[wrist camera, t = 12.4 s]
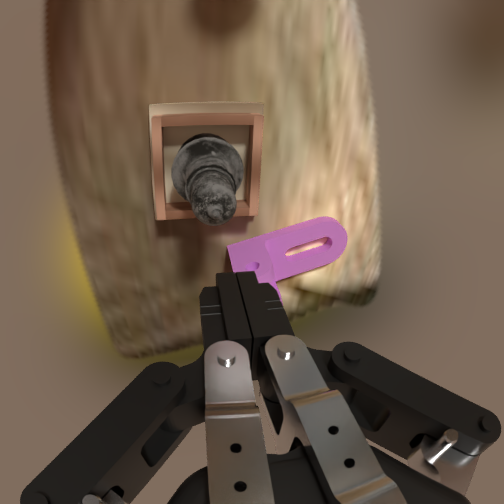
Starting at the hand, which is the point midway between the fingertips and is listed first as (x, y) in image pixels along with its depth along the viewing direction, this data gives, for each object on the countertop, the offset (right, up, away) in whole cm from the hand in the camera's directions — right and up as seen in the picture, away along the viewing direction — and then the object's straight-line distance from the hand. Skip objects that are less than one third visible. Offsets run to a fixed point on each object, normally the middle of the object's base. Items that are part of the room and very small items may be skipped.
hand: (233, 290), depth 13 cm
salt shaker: (-4, +10, +16) cm, 19 cm away
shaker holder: (-4, +10, +16) cm, 20 cm away
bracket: (+5, +2, +24) cm, 24 cm away
